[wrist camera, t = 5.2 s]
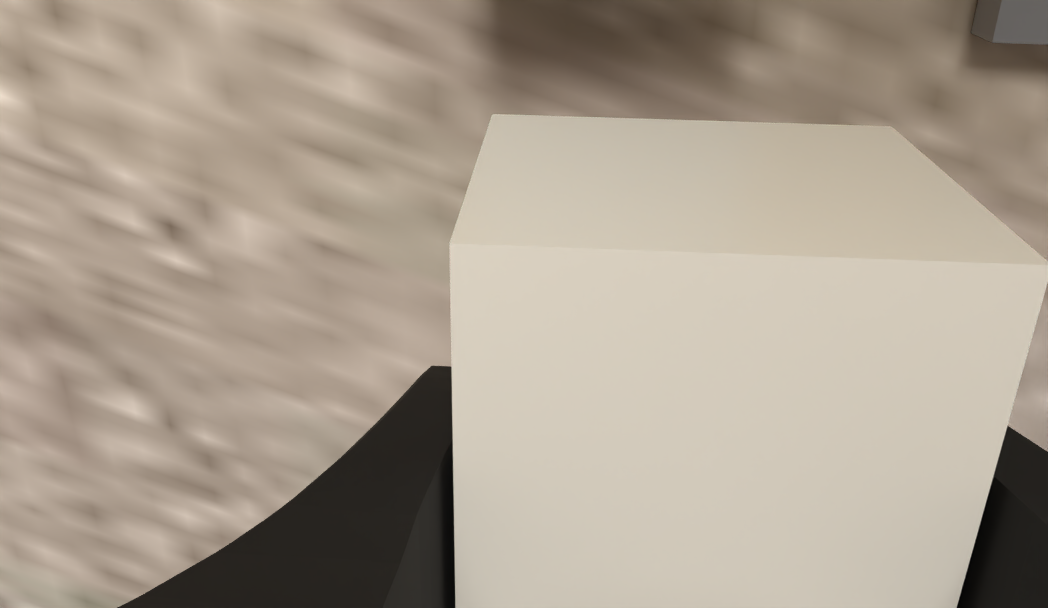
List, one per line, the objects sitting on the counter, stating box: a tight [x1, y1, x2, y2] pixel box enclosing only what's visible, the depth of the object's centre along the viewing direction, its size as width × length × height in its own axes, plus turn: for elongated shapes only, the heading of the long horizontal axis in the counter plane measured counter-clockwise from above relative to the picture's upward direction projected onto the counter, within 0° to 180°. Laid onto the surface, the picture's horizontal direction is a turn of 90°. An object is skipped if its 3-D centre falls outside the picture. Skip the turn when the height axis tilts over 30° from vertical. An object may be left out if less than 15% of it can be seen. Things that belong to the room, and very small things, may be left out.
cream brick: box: [449, 114, 1048, 608], centre depth 10 cm, size 7×4×4 cm, turn 179°
